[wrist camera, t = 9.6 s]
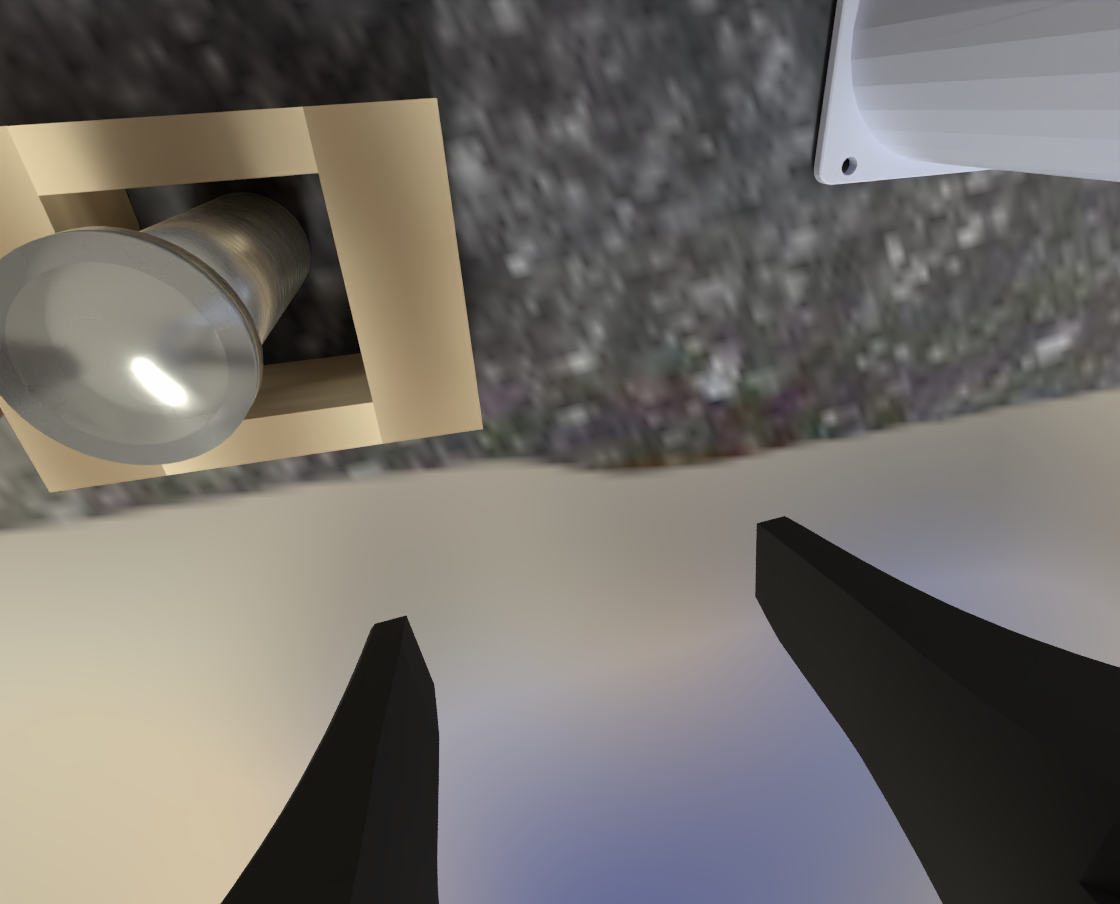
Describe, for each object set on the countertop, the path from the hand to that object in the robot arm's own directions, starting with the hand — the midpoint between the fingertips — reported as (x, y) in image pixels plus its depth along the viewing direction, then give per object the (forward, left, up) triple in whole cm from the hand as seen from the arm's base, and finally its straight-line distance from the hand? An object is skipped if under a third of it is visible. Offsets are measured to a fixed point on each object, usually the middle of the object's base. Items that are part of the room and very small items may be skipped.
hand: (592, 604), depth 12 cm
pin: (+7, -6, -10) cm, 14 cm away
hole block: (+7, -5, -10) cm, 13 cm away
